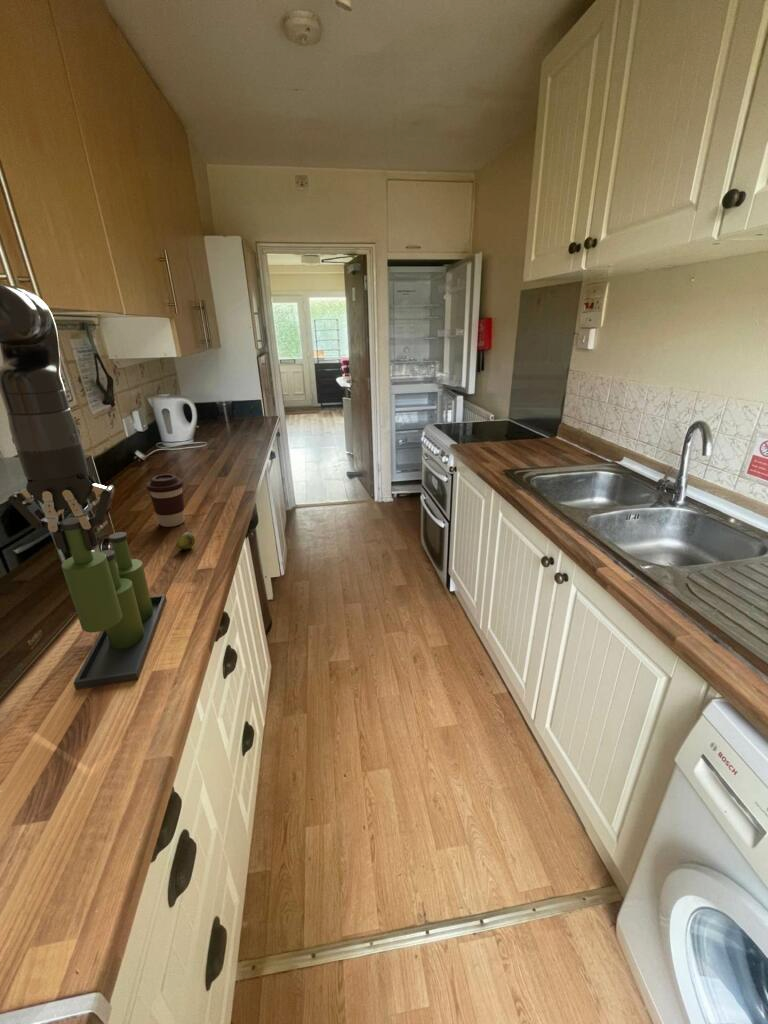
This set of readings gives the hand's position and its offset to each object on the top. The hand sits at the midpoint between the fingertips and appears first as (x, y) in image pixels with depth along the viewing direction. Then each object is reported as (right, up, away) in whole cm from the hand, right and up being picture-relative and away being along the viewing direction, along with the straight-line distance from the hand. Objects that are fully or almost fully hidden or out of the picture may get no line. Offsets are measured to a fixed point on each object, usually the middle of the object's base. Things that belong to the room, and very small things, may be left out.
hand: (80, 548), depth 68 cm
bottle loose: (0, -13, +6) cm, 14 cm away
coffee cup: (-18, +2, +67) cm, 69 cm away
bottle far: (-4, -16, +23) cm, 29 cm away
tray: (-2, -20, +17) cm, 26 cm away
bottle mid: (-2, -19, +16) cm, 25 cm away
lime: (-7, -5, +51) cm, 52 cm away
